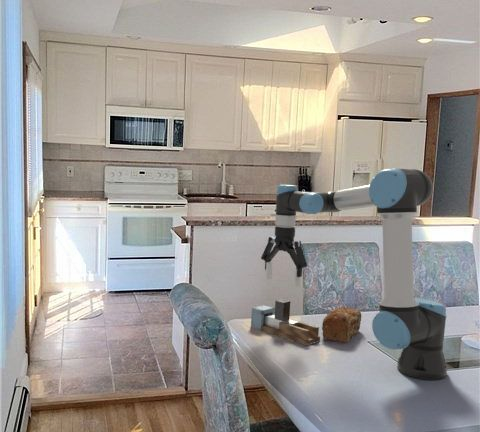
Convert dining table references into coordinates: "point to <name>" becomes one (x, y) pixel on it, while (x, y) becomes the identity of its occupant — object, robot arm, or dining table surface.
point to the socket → (260, 315)
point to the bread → (341, 324)
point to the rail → (295, 332)
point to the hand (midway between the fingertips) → (282, 282)
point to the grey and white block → (279, 315)
